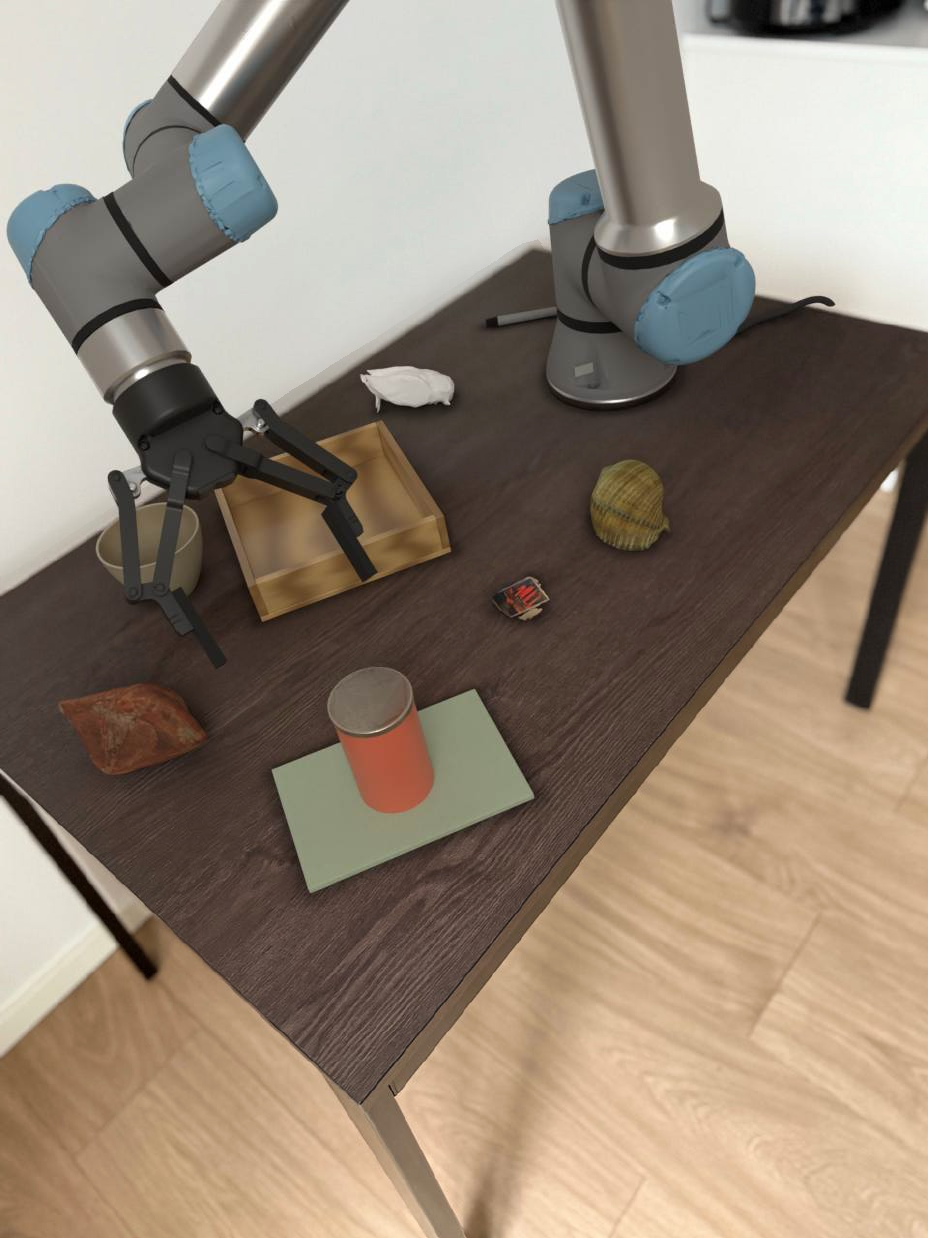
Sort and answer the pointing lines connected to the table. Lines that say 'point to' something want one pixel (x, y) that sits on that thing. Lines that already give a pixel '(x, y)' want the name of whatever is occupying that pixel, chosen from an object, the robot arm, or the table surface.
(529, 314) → the pen
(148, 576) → the beige bowl
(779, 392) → the table surface
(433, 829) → the mat
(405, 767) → the cylinder
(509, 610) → the matchbox
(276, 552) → the wooden box
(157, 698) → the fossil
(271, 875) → the table surface
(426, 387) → the bird figurine
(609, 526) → the seashell
